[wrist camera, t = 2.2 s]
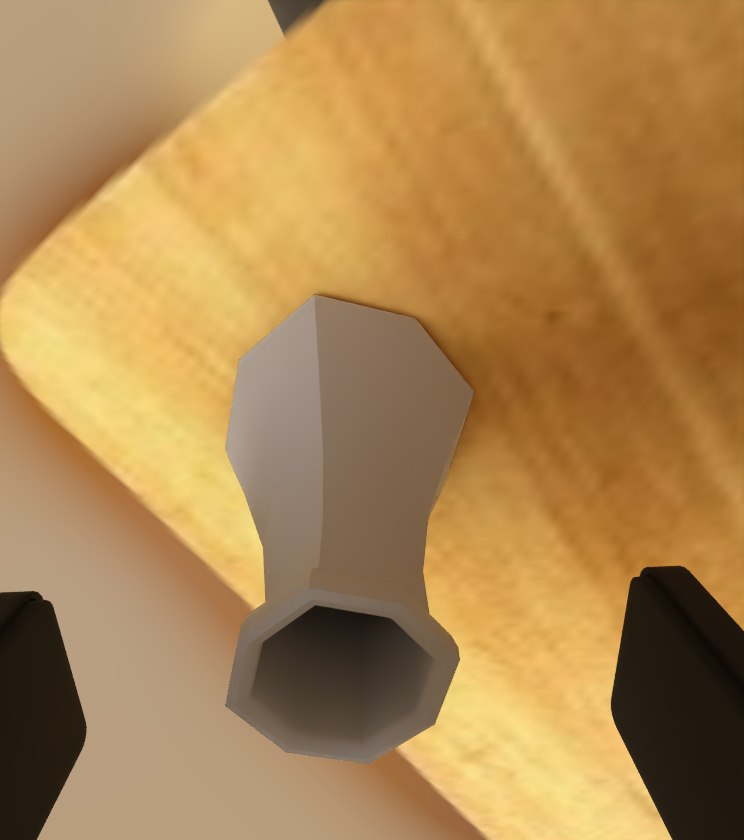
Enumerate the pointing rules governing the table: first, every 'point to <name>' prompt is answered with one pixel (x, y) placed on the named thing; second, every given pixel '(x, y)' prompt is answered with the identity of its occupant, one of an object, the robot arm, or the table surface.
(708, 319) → the table surface
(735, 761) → the robot arm
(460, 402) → the flask
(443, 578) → the table surface
